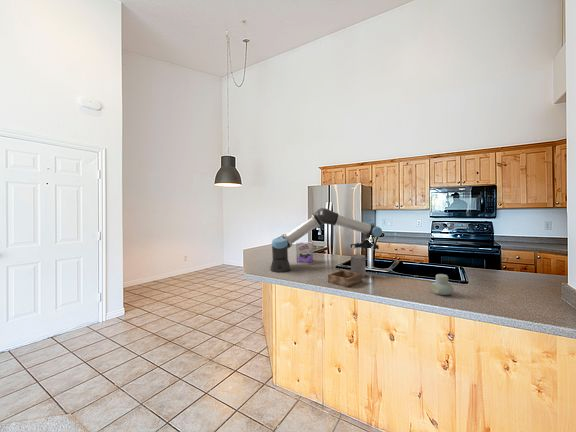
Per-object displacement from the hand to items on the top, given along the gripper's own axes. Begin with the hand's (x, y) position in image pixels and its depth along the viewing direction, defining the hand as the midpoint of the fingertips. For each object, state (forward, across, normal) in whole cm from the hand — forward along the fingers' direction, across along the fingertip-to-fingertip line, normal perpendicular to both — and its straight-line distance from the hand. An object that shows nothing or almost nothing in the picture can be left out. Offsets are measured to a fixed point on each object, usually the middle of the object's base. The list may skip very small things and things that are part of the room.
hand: (361, 248), depth 193 cm
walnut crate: (+28, +5, -17) cm, 33 cm away
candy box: (-16, +52, -17) cm, 57 cm away
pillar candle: (+10, +1, -17) cm, 20 cm away
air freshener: (+28, -48, -18) cm, 58 cm away
